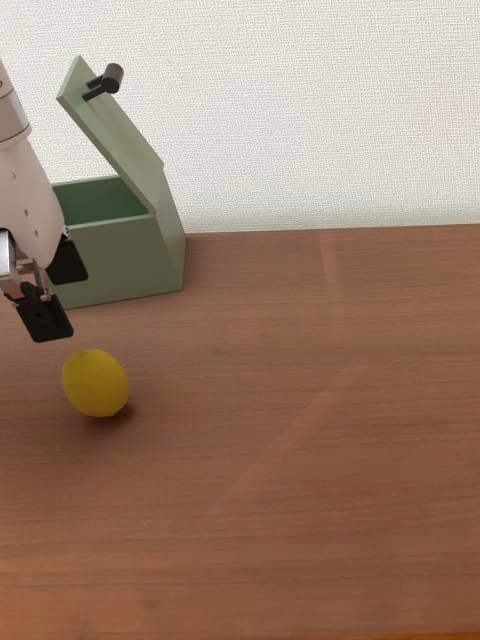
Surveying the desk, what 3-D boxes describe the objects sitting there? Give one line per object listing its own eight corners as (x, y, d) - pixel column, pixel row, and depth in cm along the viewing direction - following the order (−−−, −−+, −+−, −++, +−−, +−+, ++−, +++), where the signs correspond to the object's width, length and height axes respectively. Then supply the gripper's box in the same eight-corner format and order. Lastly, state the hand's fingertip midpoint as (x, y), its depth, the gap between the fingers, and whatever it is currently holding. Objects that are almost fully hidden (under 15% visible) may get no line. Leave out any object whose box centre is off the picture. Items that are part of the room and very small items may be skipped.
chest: (60, 310, 97) (24, 235, 91) (76, 254, 107) (45, 184, 101) (182, 290, 100) (155, 216, 94) (186, 238, 110) (162, 167, 104)
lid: (55, 98, 83) (98, 75, 83) (74, 57, 94) (112, 37, 93) (151, 214, 93) (189, 194, 93) (158, 166, 103) (193, 147, 103)
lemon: (69, 426, 81) (34, 361, 76) (110, 392, 85) (80, 329, 80) (112, 439, 79) (79, 374, 74) (152, 404, 83) (124, 340, 78)
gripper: (-54, 91, 69) (36, 269, 80) (-120, 174, 56) (-2, 372, 67) (42, 79, 70) (117, 255, 81) (0, 157, 57) (96, 354, 68)
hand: (63, 308), depth 74 cm, fingers open, 9 cm apart
